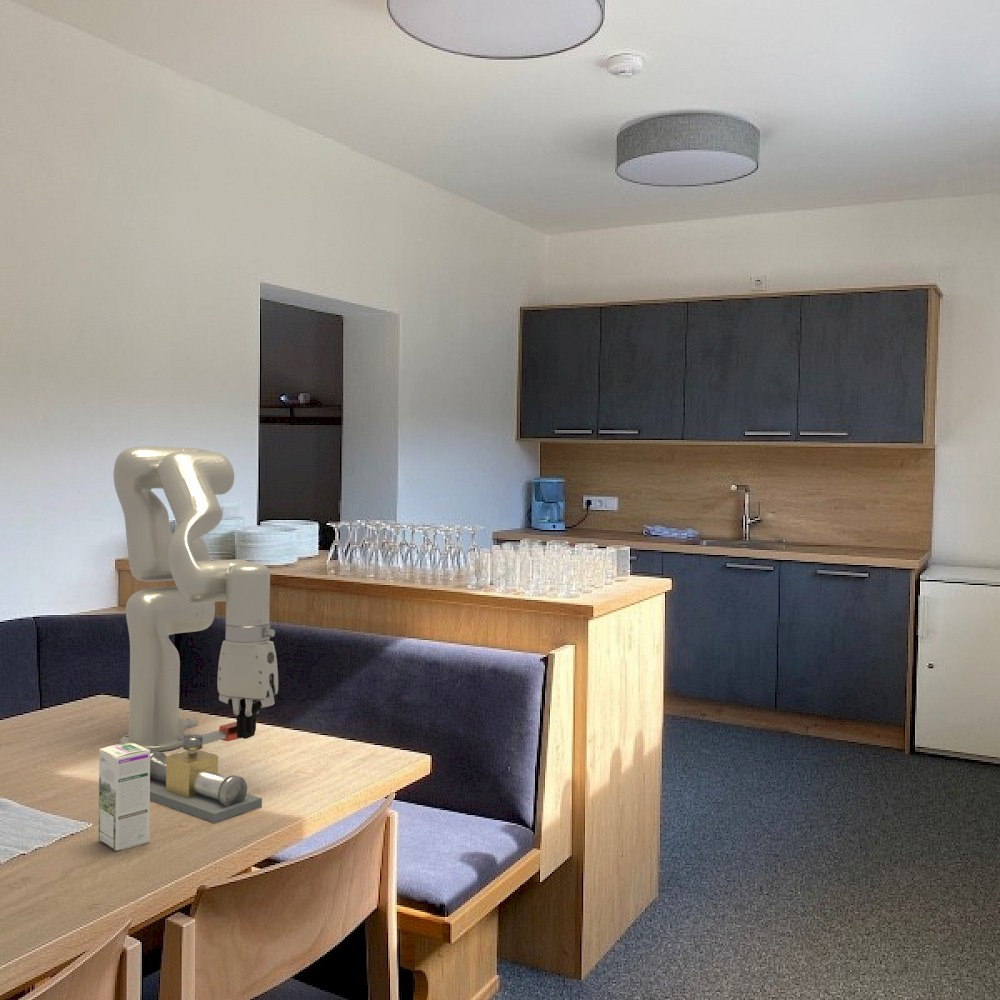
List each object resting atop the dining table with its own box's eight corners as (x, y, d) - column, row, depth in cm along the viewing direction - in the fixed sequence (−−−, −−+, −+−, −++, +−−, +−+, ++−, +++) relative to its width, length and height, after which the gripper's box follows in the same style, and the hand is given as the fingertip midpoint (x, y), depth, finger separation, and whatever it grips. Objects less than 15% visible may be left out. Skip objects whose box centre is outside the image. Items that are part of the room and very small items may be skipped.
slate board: (171, 777, 188) (171, 769, 188) (261, 806, 175) (261, 798, 174) (123, 790, 180) (123, 782, 180) (214, 823, 166) (214, 813, 166)
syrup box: (151, 842, 157) (153, 748, 157) (114, 852, 153) (115, 755, 152) (132, 832, 161) (134, 740, 161) (96, 841, 157) (97, 747, 156)
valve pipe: (165, 776, 186) (166, 740, 186) (248, 803, 173) (249, 764, 173) (136, 784, 181) (137, 747, 181) (220, 812, 168) (221, 772, 168)
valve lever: (242, 736, 189) (242, 718, 189) (254, 739, 187) (255, 721, 187) (178, 754, 176) (179, 735, 176) (191, 758, 175) (192, 739, 175)
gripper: (295, 633, 184) (293, 736, 184) (223, 628, 189) (222, 727, 189) (273, 640, 177) (271, 746, 177) (198, 633, 182) (197, 737, 182)
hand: (246, 736), depth 183 cm, fingers closed
